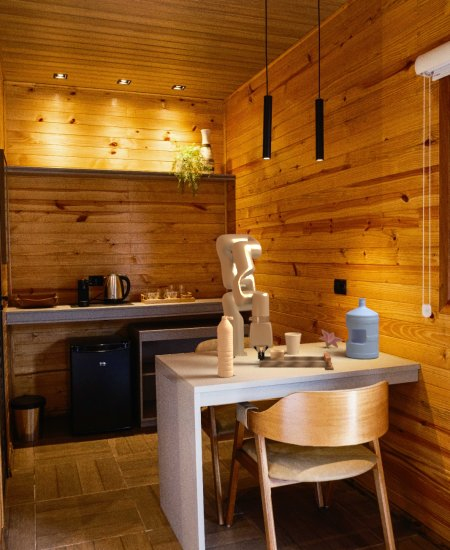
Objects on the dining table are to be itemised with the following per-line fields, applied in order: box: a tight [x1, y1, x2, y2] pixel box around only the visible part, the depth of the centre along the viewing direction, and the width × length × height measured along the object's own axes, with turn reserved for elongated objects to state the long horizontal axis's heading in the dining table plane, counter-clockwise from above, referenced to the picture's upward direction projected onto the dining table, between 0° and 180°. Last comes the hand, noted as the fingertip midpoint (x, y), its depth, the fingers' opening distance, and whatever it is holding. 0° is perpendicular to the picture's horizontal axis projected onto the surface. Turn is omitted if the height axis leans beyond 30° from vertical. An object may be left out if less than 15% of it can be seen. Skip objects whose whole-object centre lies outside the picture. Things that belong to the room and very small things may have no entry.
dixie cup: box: [284, 332, 302, 356], centre depth 281 cm, size 8×8×10 cm
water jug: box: [345, 297, 380, 360], centre depth 271 cm, size 16×16×28 cm
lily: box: [318, 329, 344, 349], centre depth 294 cm, size 12×12×10 cm
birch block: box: [270, 349, 285, 361], centre depth 251 cm, size 6×6×6 cm
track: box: [258, 352, 334, 371], centre depth 250 cm, size 32×14×5 cm, turn 85°
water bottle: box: [216, 315, 234, 378], centre depth 232 cm, size 9×6×25 cm
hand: (261, 360), depth 251 cm, fingers closed
